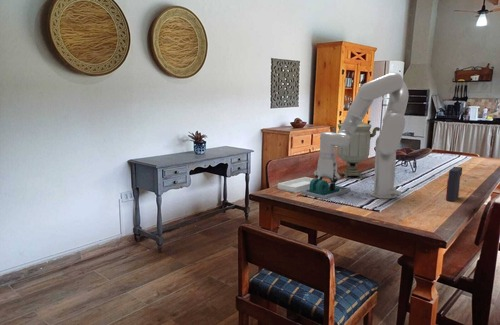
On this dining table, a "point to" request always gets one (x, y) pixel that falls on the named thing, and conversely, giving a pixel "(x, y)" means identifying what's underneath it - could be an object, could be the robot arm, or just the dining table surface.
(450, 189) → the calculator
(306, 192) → the grey rectangular frame
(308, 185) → the parts tray
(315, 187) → the bracket
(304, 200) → the dining table surface
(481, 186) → the dining table surface
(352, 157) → the samovar
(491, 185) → the dining table surface
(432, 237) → the dining table surface
